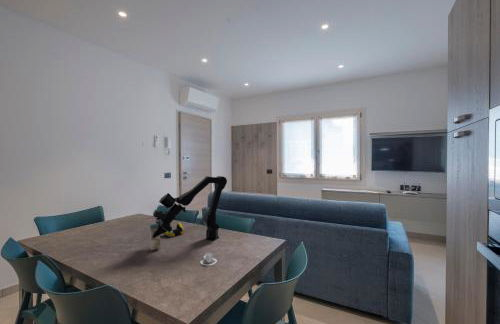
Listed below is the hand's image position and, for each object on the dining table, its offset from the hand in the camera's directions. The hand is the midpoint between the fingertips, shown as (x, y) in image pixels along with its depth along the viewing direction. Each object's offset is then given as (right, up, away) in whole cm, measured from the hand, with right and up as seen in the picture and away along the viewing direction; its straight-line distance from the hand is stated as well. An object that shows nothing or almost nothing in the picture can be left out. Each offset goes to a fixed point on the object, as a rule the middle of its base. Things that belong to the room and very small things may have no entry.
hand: (152, 236), depth 125 cm
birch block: (+1, -7, +1) cm, 7 cm away
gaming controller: (+3, -8, +27) cm, 28 cm away
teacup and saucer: (+35, -8, -12) cm, 38 cm away
